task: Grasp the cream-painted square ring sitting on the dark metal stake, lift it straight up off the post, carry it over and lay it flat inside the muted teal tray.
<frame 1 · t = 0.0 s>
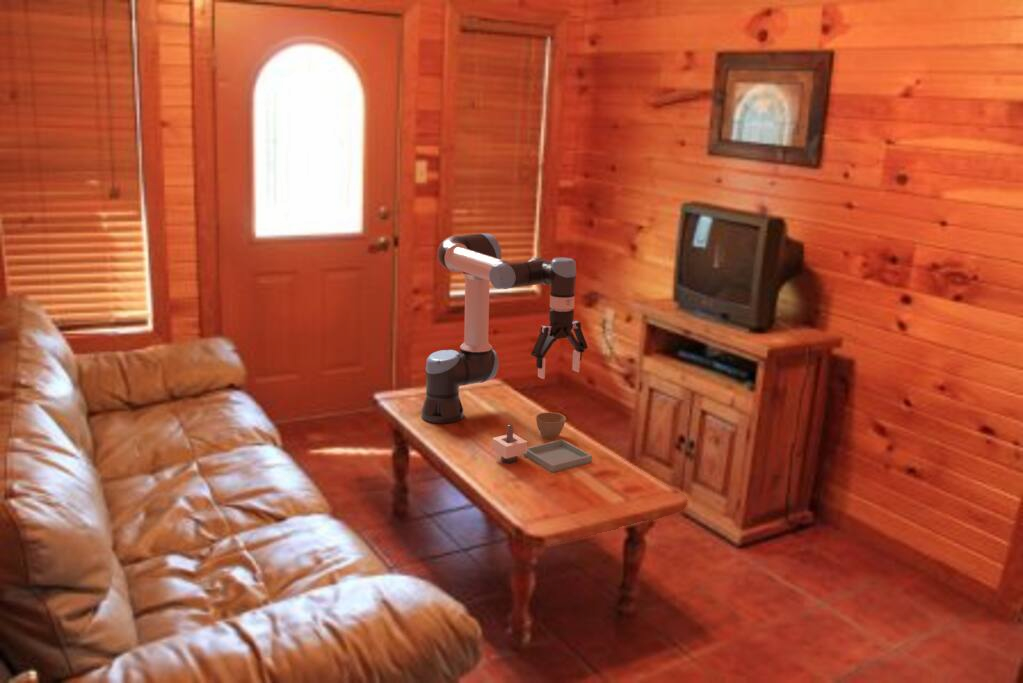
hand: (558, 374, 273), 28 cm above the table, fingers open, 13 cm apart
tray: (557, 458, 279), on the table
stake: (509, 460, 277), on the table
ring: (509, 451, 276), point 3 cm above the table, touching stake
flower pot: (549, 437, 297), on the table
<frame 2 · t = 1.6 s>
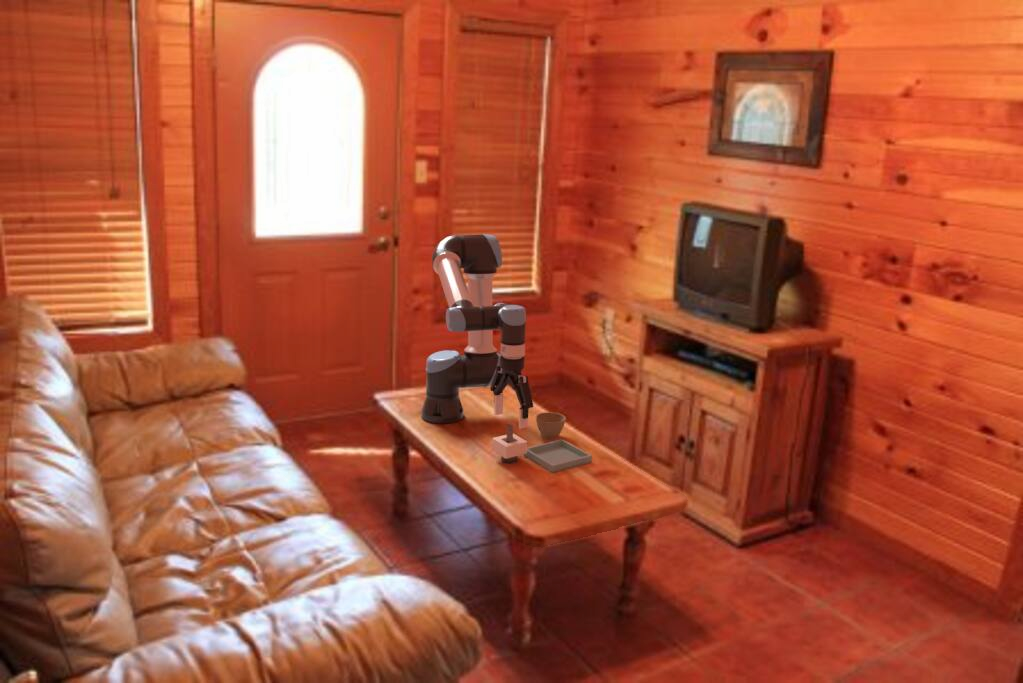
hand: (510, 420, 273), 14 cm above the table, fingers open, 13 cm apart
nothing on the table moved.
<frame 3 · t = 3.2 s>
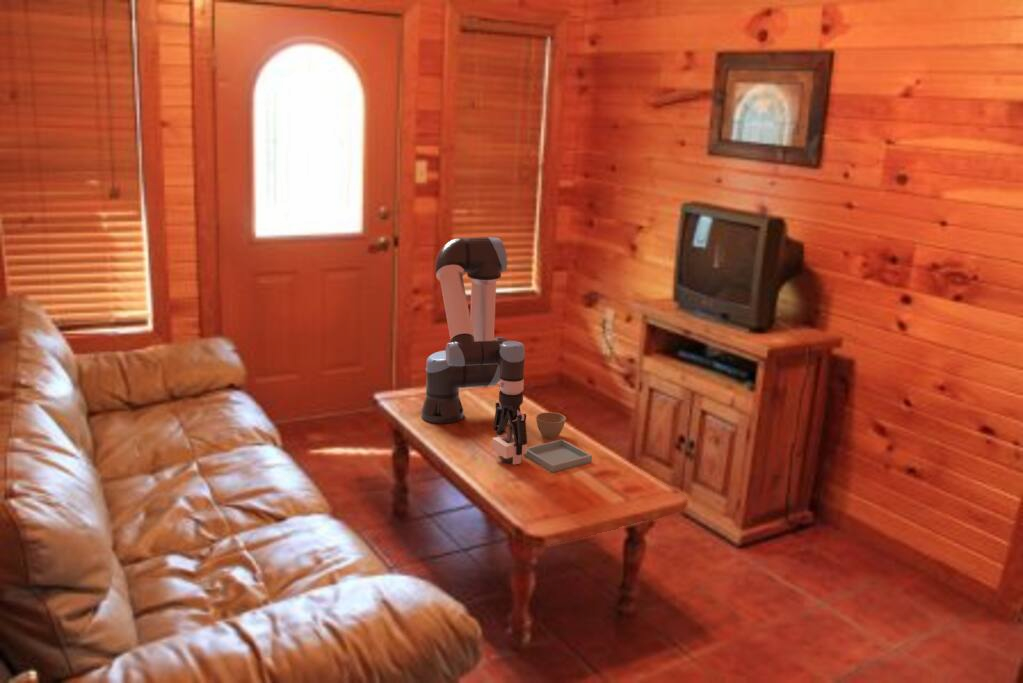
hand: (509, 458, 277), 1 cm above the table, fingers closed on ring, 8 cm apart
ring: (509, 451, 276), point 3 cm above the table, touching gripper, stake
everything else where it was.
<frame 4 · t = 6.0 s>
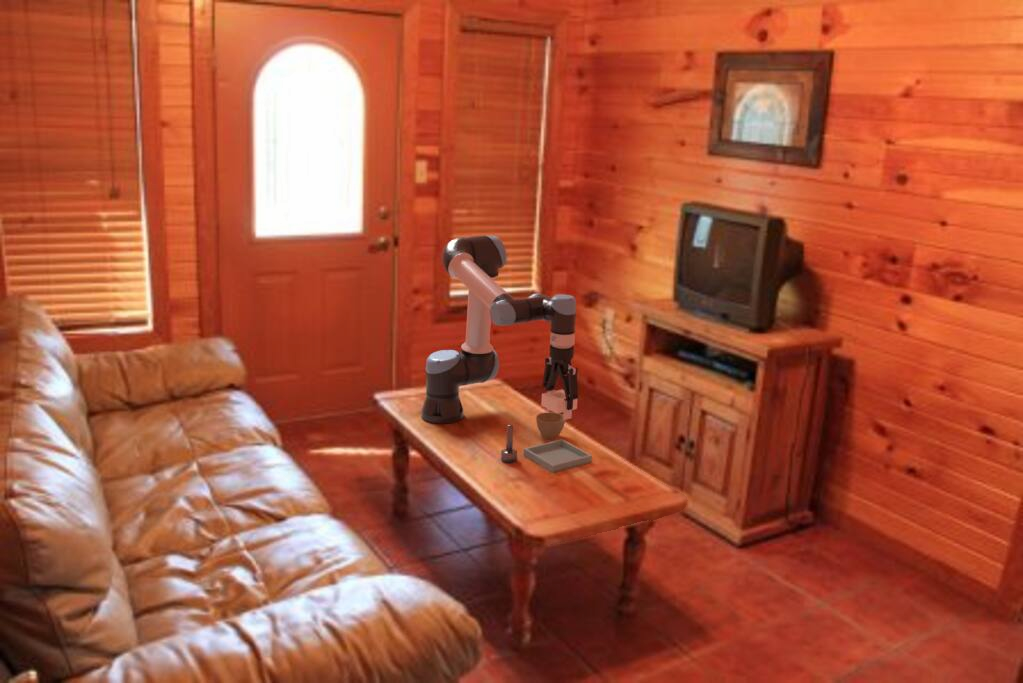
hand: (558, 414, 275), 15 cm above the table, fingers closed on ring, 8 cm apart
ring: (559, 407, 274), point 18 cm above the table, touching gripper
everything else where it was.
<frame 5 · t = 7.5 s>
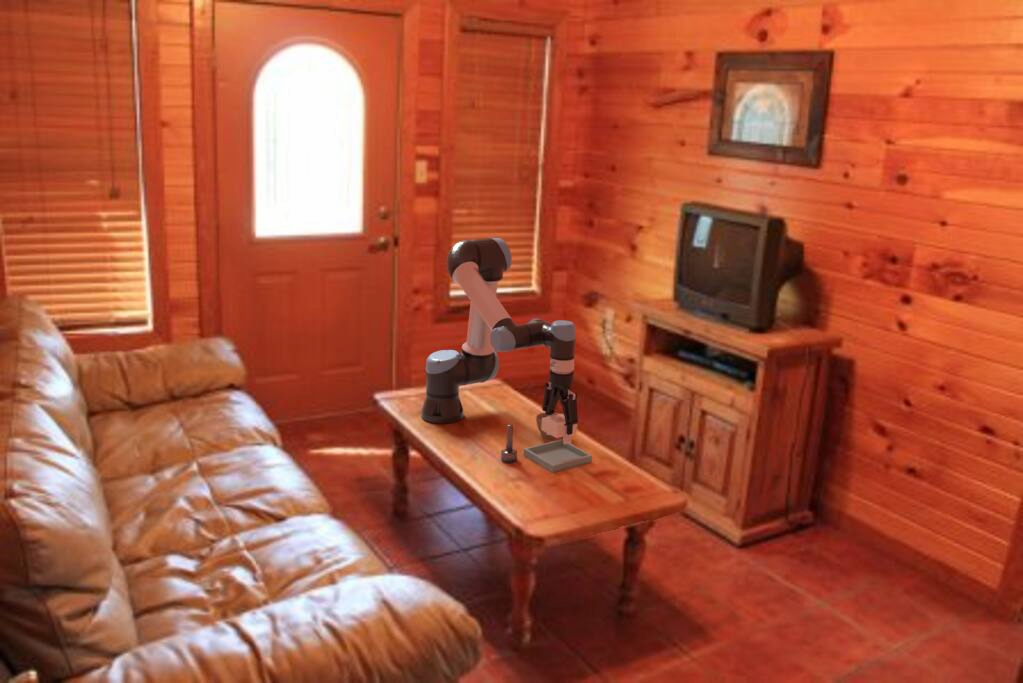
hand: (558, 438, 277), 7 cm above the table, fingers closed on ring, 8 cm apart
ring: (558, 431, 276), point 9 cm above the table, touching gripper
everything else where it was.
when the fingers open (2 cm above the table, at t = 8.9 s): ring drops 4 cm, resting on tray.
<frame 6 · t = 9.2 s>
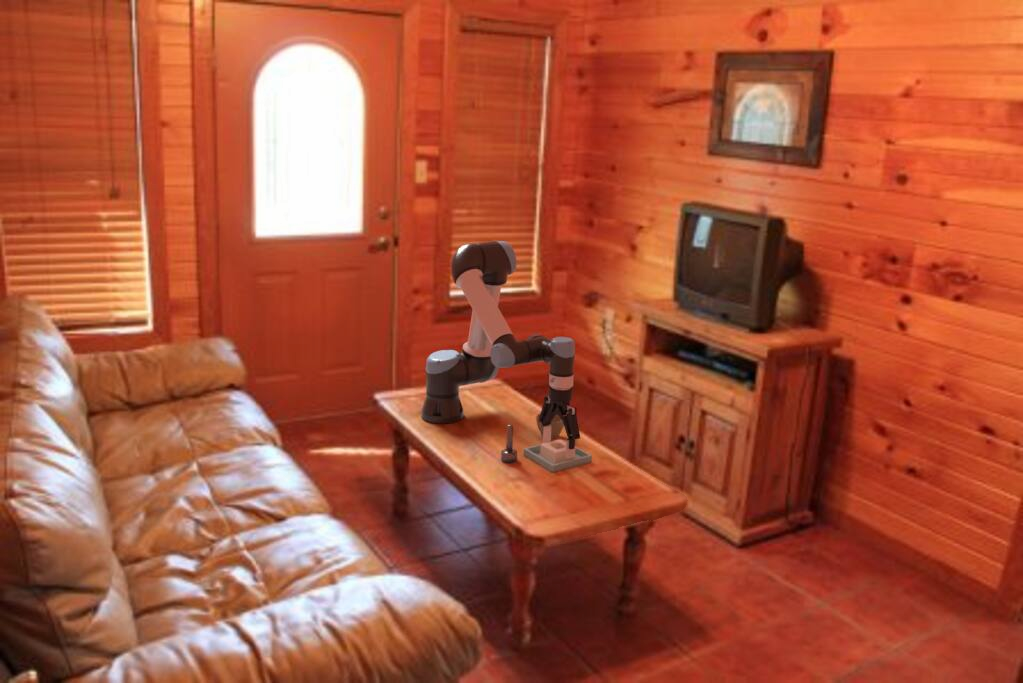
hand: (557, 451, 278), 3 cm above the table, fingers open, 11 cm apart
ring: (557, 457, 279), resting on tray
everything else where it was.
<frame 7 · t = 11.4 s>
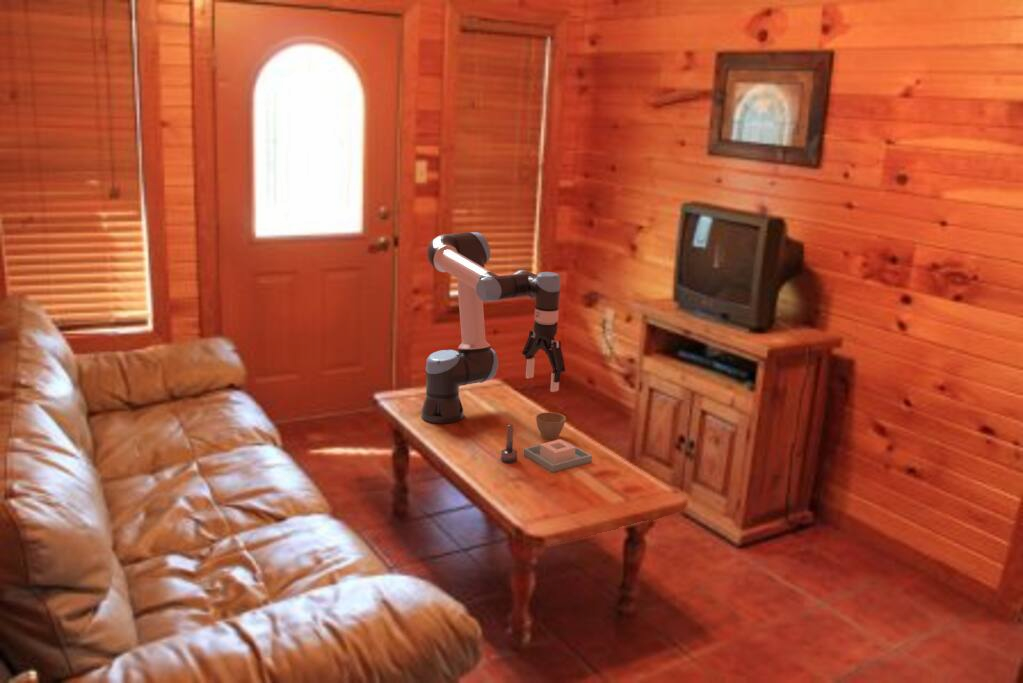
hand: (541, 384, 282), 22 cm above the table, fingers open, 13 cm apart
nothing on the table moved.
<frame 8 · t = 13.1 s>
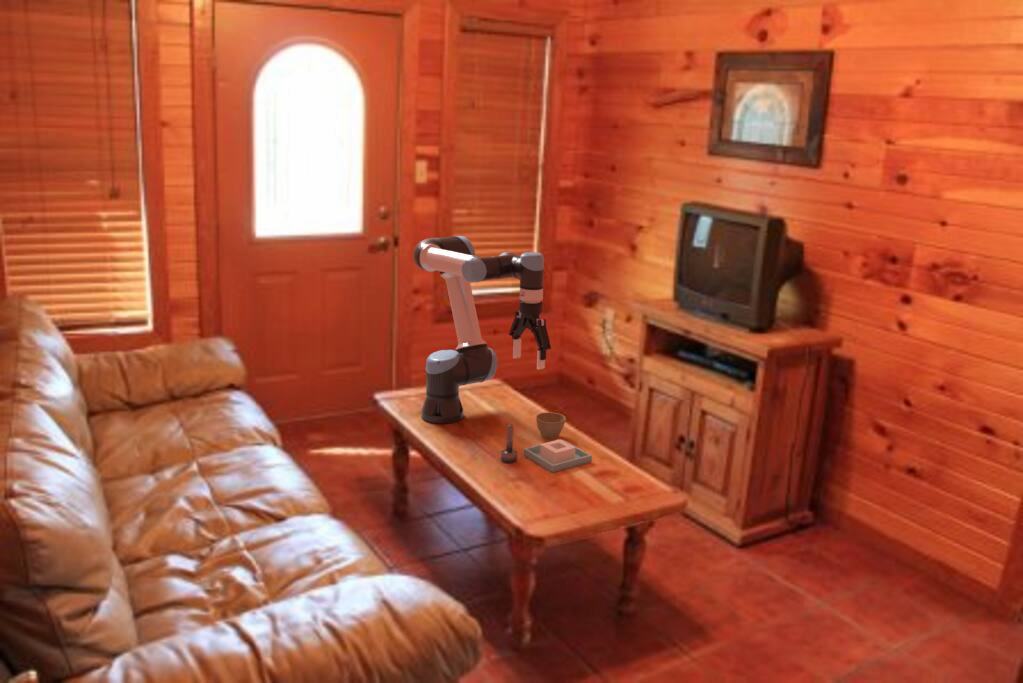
hand: (528, 363, 287), 27 cm above the table, fingers open, 13 cm apart
nothing on the table moved.
at the end: ring inside the target area on the tray (0.0 cm from its centre), point 0.5 cm above the tray's base; ring tilted 0°; the gripper is holding nothing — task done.
